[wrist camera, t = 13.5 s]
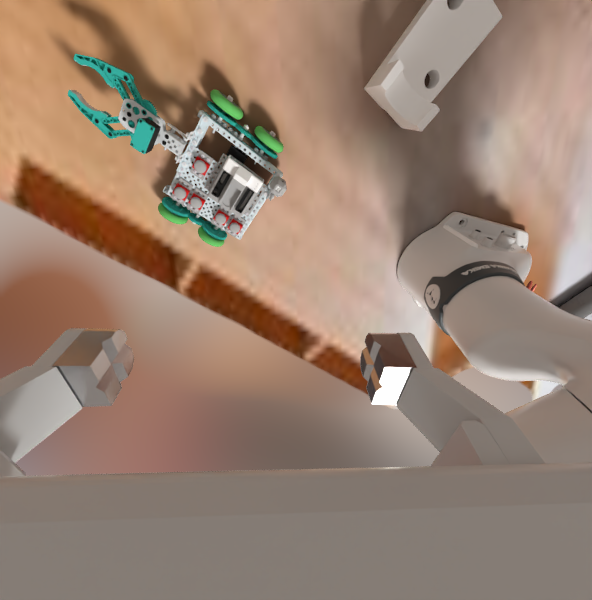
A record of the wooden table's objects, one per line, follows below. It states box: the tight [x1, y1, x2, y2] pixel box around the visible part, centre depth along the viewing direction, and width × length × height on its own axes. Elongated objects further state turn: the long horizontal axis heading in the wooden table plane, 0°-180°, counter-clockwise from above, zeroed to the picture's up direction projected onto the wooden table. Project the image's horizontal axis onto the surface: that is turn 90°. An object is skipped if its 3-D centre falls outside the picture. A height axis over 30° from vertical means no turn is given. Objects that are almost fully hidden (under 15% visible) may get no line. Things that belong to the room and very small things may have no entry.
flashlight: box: [559, 286, 592, 318], centre depth 56 cm, size 5×28×5 cm, turn 145°
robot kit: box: [68, 54, 286, 247], centre depth 35 cm, size 19×25×9 cm
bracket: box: [364, 0, 503, 132], centre depth 31 cm, size 13×7×8 cm, turn 143°
